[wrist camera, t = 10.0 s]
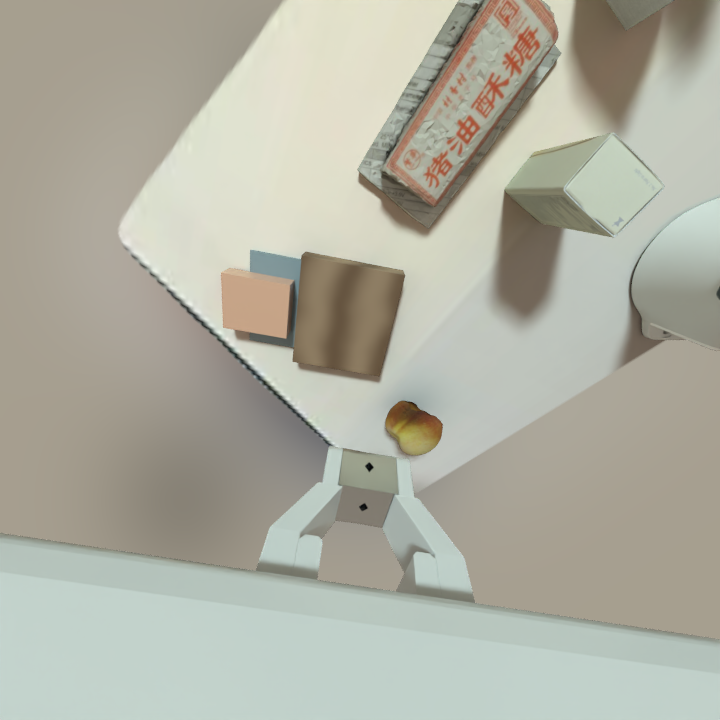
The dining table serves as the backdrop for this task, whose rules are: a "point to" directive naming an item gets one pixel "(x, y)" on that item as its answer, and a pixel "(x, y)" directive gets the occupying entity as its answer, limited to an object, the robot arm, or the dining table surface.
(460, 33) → the packaged product
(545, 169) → the skincare box
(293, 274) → the slate mat
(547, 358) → the dining table surface
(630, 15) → the grey block
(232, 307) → the terracotta tile
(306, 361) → the walnut stand
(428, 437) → the fruit
